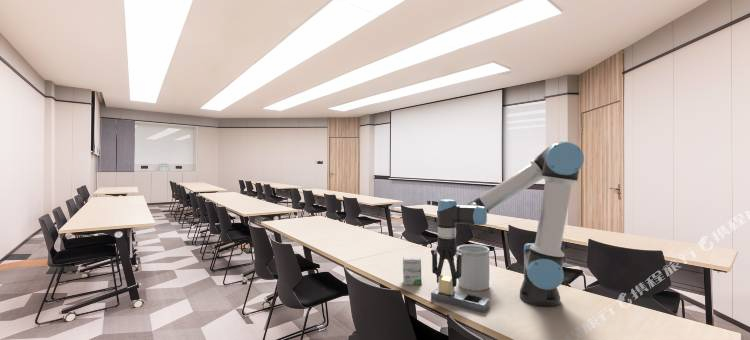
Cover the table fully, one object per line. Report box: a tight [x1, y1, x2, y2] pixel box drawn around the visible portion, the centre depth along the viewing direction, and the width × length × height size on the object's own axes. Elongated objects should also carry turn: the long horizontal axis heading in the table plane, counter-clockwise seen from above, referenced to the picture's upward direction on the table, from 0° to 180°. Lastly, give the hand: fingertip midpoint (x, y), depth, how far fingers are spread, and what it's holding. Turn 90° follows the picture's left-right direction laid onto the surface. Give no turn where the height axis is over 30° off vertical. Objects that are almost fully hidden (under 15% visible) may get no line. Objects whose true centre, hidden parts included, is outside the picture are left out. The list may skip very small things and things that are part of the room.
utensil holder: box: [456, 243, 490, 292], centre depth 153 cm, size 15×15×18 cm
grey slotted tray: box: [430, 286, 491, 314], centre depth 134 cm, size 22×7×3 cm, turn 54°
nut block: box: [438, 275, 452, 296], centre depth 137 cm, size 4×4×6 cm
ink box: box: [402, 256, 422, 286], centre depth 157 cm, size 9×5×12 cm, turn 84°
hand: (446, 292), depth 137 cm, fingers closed on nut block, 4 cm apart
